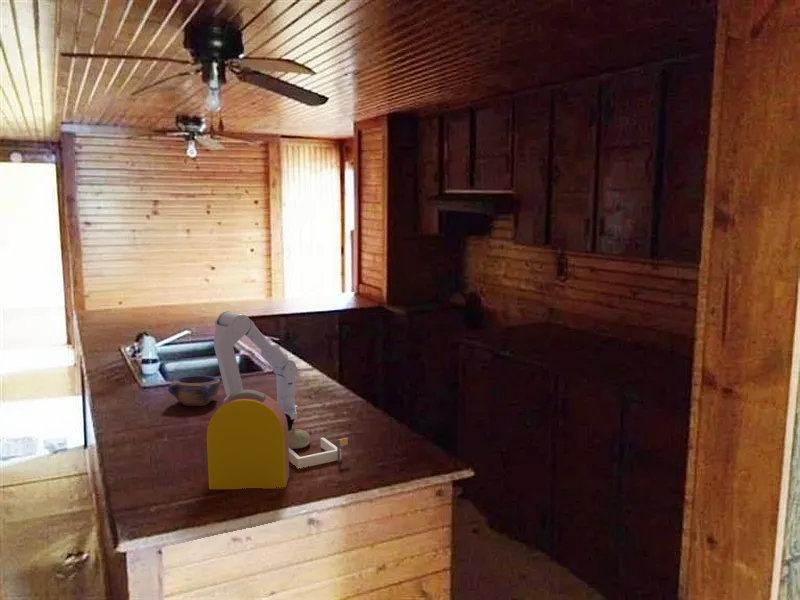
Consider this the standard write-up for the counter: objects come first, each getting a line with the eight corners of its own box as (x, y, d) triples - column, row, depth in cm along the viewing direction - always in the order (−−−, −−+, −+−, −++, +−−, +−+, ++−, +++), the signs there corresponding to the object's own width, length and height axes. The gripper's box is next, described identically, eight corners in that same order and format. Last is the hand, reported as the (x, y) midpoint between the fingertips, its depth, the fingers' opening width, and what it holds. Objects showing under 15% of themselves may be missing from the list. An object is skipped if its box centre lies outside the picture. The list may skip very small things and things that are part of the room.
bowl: (227, 396, 270) (226, 372, 268) (210, 410, 252) (209, 384, 251) (184, 395, 272) (183, 371, 270) (164, 409, 254) (163, 383, 252)
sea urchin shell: (283, 446, 210) (281, 423, 215) (282, 457, 217) (280, 434, 221) (312, 443, 213) (309, 421, 217) (310, 454, 219) (307, 432, 224)
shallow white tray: (300, 471, 196) (300, 448, 195) (282, 454, 209) (281, 433, 208) (348, 460, 204) (348, 438, 203) (328, 445, 216) (327, 424, 215)
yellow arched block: (289, 474, 194) (287, 385, 190) (285, 488, 185) (282, 395, 181) (216, 475, 193) (212, 386, 189) (208, 489, 184) (203, 396, 180)
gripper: (305, 398, 218) (306, 438, 220) (288, 387, 230) (290, 425, 232) (285, 401, 214) (286, 442, 216) (269, 390, 227) (270, 429, 229)
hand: (286, 434), depth 224 cm, fingers closed
